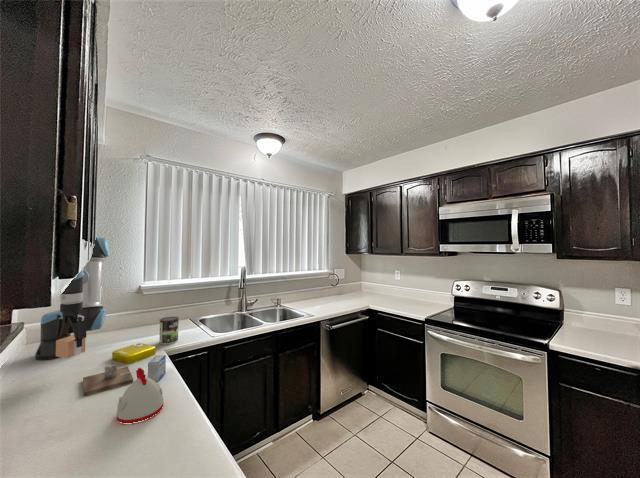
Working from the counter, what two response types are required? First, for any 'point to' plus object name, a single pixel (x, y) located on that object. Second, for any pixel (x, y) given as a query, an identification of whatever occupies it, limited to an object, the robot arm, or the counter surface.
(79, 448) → the counter surface
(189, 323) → the counter surface
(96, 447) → the counter surface
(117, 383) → the board
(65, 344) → the orange cube
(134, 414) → the chicken dome
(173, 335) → the coffee can
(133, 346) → the element tile
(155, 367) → the medicine box
